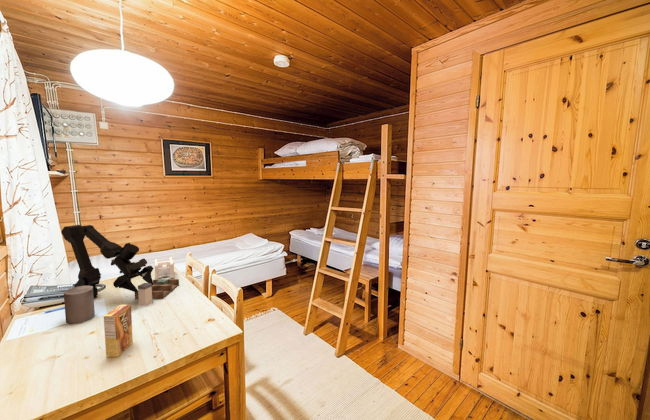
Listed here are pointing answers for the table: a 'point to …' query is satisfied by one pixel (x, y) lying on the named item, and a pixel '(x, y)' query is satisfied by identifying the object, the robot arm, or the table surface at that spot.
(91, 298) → the pillar candle
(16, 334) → the table surface
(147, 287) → the tan lidded canister
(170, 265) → the cable organizer
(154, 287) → the brown compartment tray
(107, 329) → the candy box
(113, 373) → the table surface
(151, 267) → the robot arm
